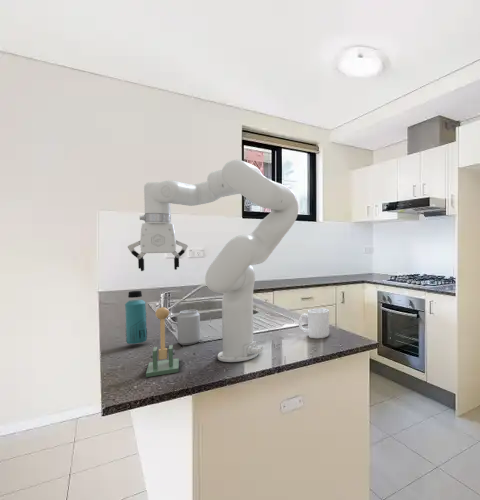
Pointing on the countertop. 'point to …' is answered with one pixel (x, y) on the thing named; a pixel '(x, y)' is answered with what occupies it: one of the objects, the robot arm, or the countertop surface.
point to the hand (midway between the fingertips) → (159, 270)
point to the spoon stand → (162, 364)
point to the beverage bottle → (135, 319)
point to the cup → (316, 323)
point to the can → (188, 327)
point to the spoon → (162, 331)
